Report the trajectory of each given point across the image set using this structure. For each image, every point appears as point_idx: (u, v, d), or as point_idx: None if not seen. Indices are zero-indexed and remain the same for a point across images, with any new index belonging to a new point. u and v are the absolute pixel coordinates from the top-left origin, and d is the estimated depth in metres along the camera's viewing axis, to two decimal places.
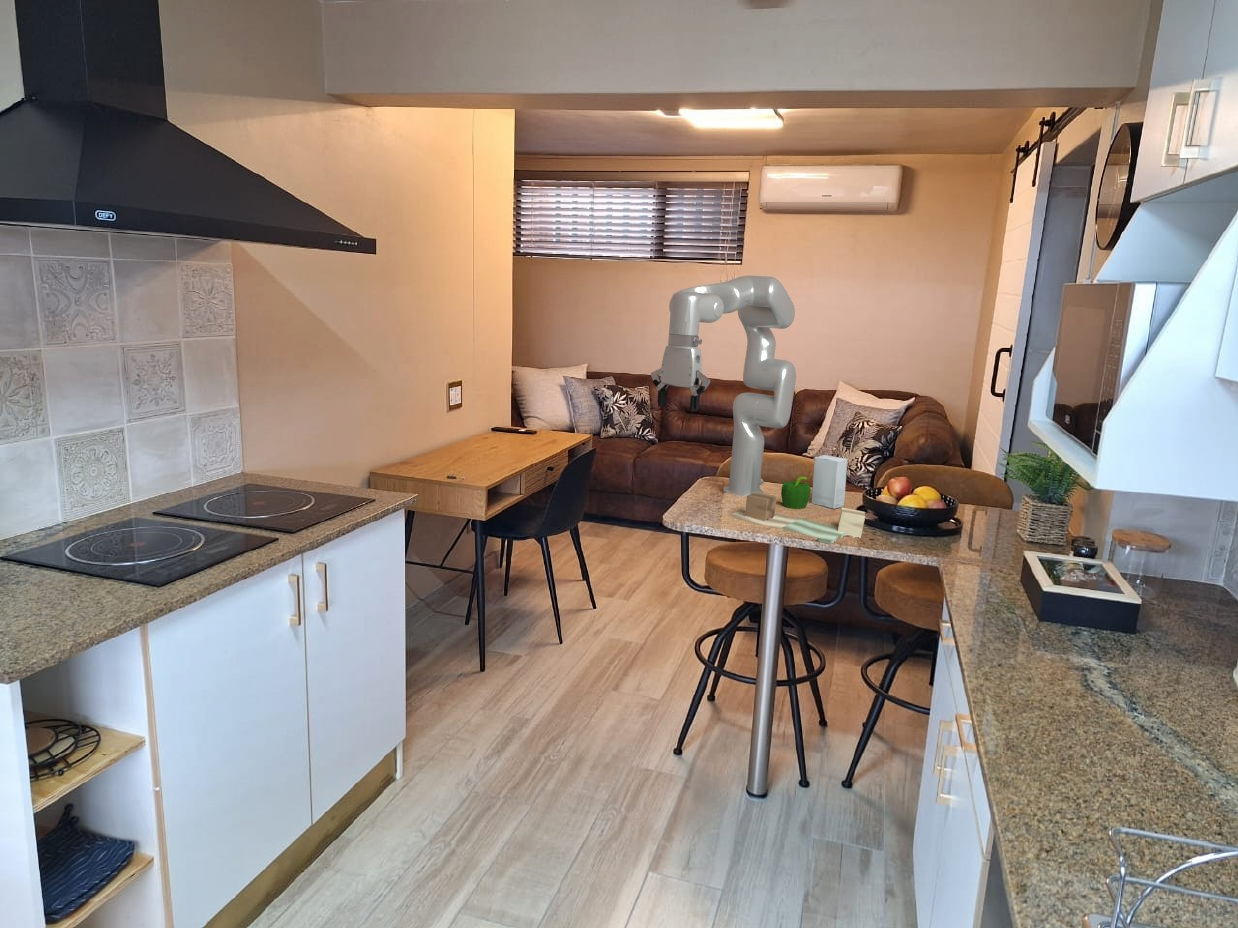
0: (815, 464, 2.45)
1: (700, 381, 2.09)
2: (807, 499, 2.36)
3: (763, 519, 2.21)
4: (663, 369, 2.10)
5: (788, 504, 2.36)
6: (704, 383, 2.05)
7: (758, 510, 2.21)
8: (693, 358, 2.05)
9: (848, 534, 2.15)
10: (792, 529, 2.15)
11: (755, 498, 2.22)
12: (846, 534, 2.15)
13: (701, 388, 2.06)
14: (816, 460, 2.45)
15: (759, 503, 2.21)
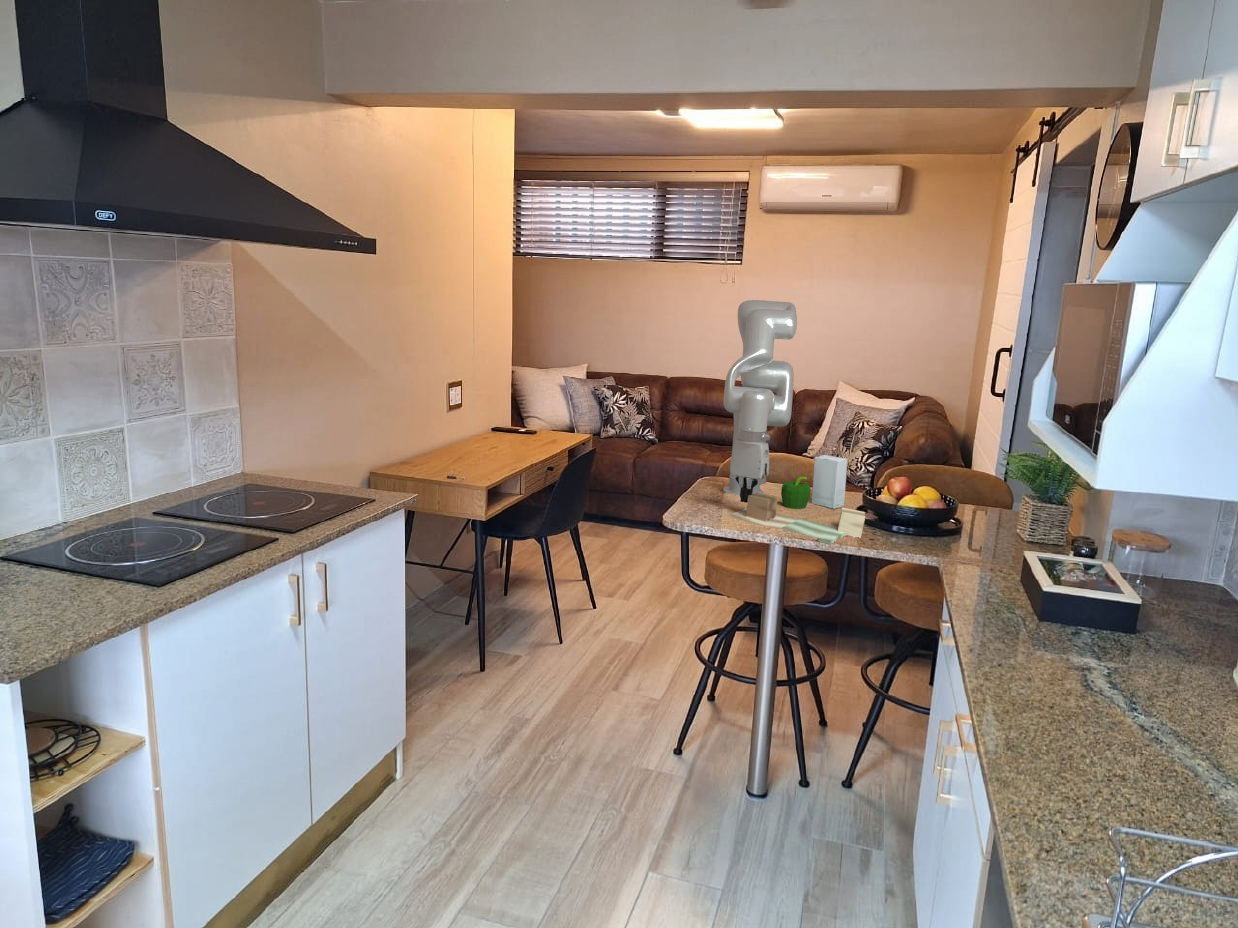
0: (815, 464, 2.45)
1: None
2: (807, 499, 2.36)
3: (764, 519, 2.21)
4: (733, 461, 2.25)
5: (788, 504, 2.36)
6: (759, 481, 2.23)
7: (759, 510, 2.21)
8: (762, 453, 2.20)
9: (848, 534, 2.15)
10: (792, 529, 2.15)
11: (756, 498, 2.21)
12: (846, 534, 2.15)
13: (754, 482, 2.23)
14: (816, 460, 2.45)
15: (760, 503, 2.21)
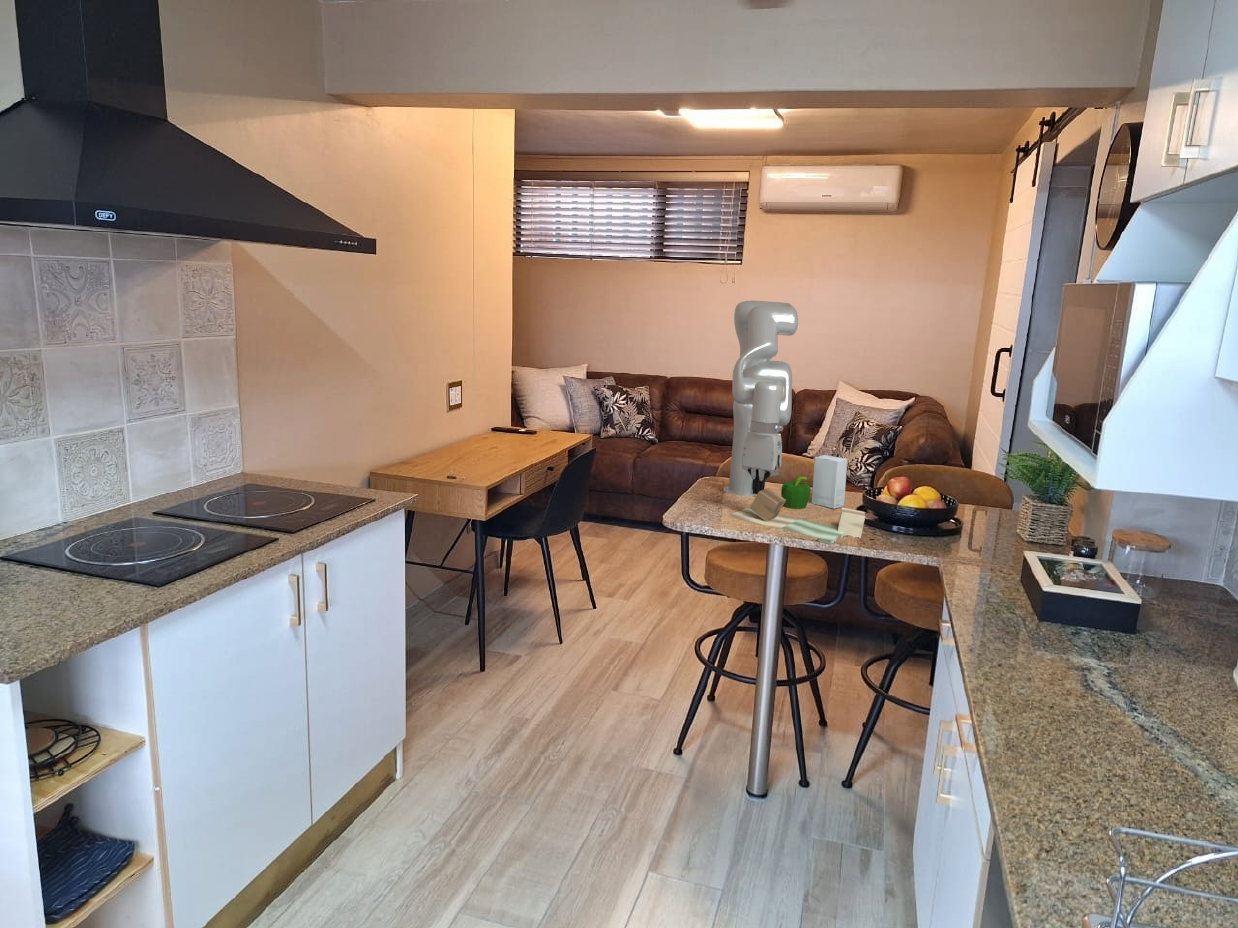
0: (815, 464, 2.45)
1: (780, 464, 2.21)
2: (807, 499, 2.36)
3: (765, 519, 2.21)
4: (745, 453, 2.22)
5: (788, 504, 2.36)
6: (772, 473, 2.20)
7: (764, 509, 2.20)
8: (775, 444, 2.17)
9: (848, 534, 2.15)
10: (792, 529, 2.15)
11: (766, 497, 2.20)
12: (846, 534, 2.15)
13: (767, 474, 2.21)
14: (816, 460, 2.45)
15: (768, 503, 2.19)
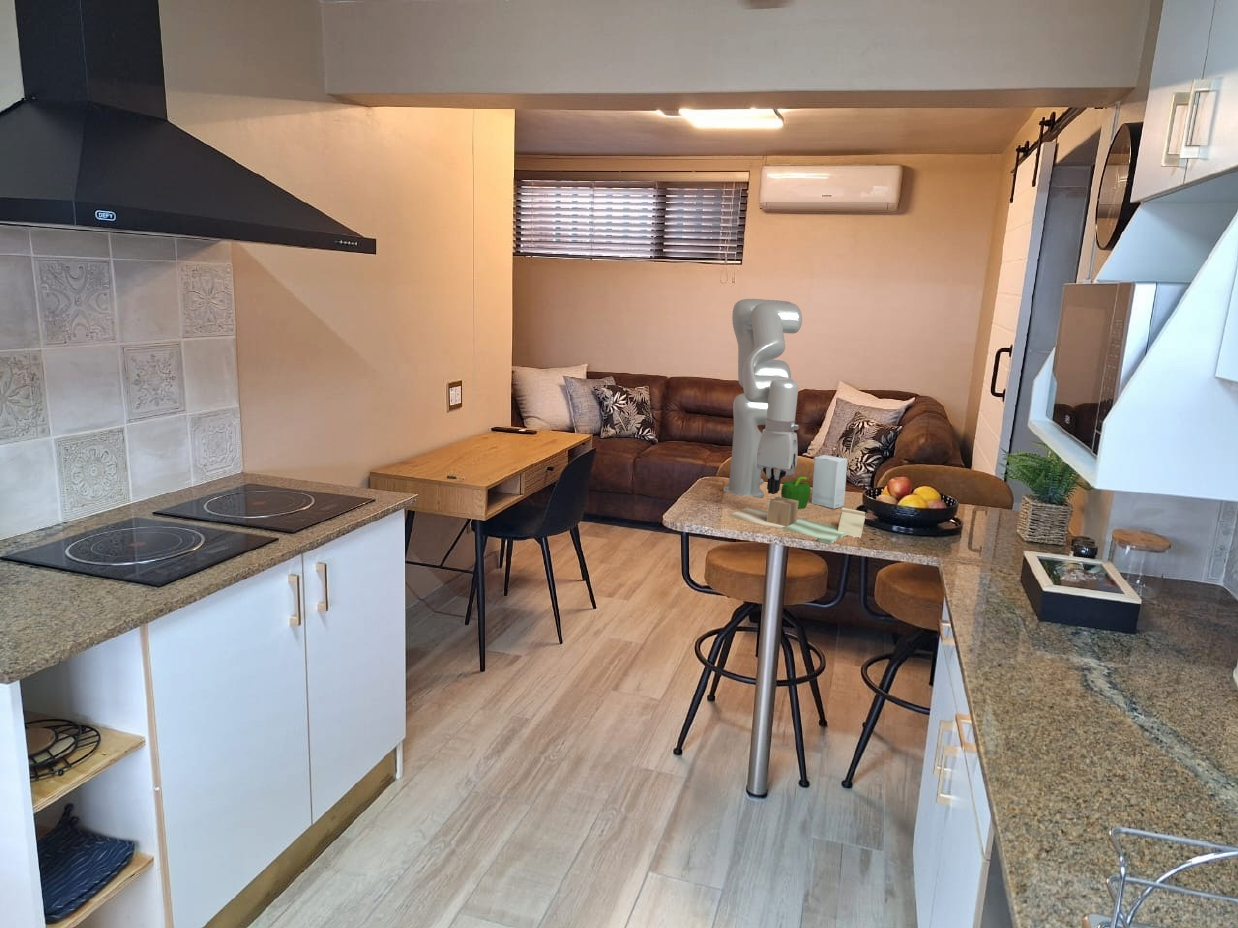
0: (815, 464, 2.45)
1: (796, 463, 2.18)
2: (807, 499, 2.36)
3: (768, 520, 2.20)
4: (760, 452, 2.20)
5: None
6: (788, 472, 2.17)
7: (776, 515, 2.19)
8: (791, 443, 2.15)
9: (848, 534, 2.15)
10: (792, 529, 2.15)
11: (787, 513, 2.17)
12: (846, 534, 2.15)
13: (782, 473, 2.18)
14: (816, 460, 2.45)
15: (783, 518, 2.17)
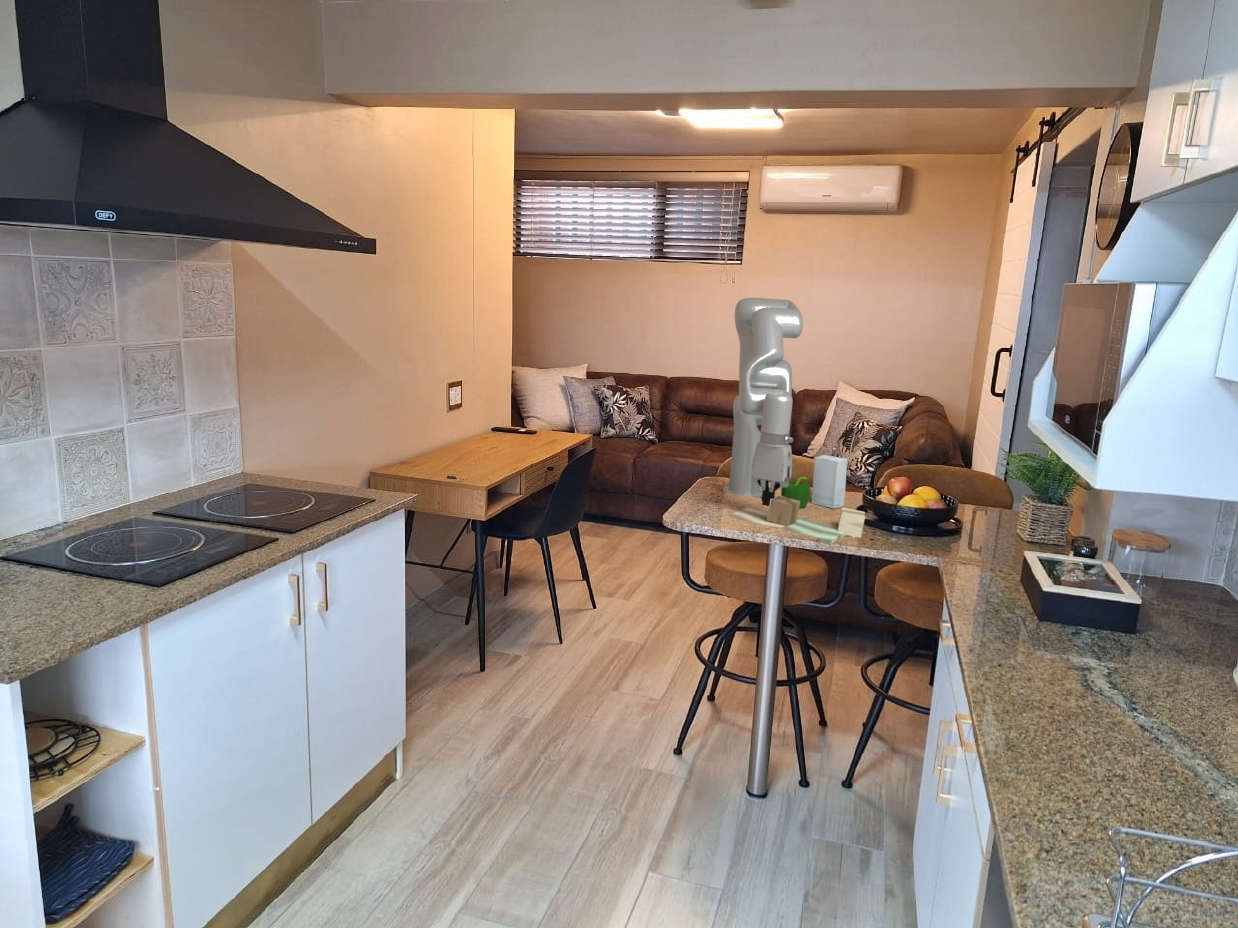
0: (815, 464, 2.45)
1: (790, 476, 2.20)
2: (807, 499, 2.36)
3: (768, 519, 2.20)
4: (755, 464, 2.21)
5: None
6: (782, 484, 2.19)
7: (776, 515, 2.19)
8: (785, 456, 2.16)
9: (848, 534, 2.15)
10: (792, 529, 2.15)
11: (788, 514, 2.16)
12: (846, 534, 2.15)
13: (777, 485, 2.20)
14: (816, 460, 2.45)
15: (783, 517, 2.17)
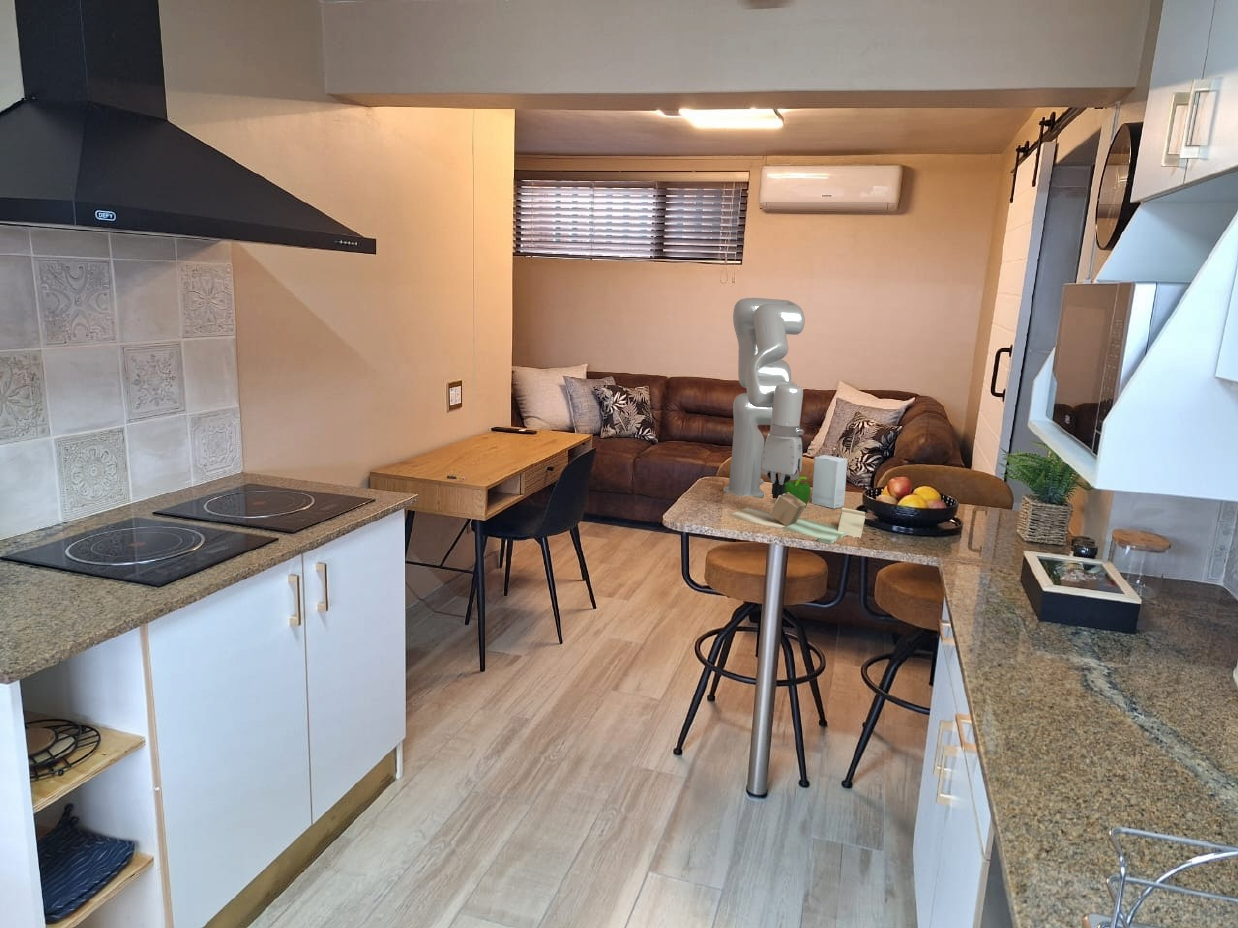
0: (815, 464, 2.45)
1: (800, 468, 2.18)
2: (807, 499, 2.36)
3: (770, 513, 2.19)
4: (764, 456, 2.19)
5: None
6: (792, 477, 2.17)
7: (780, 512, 2.18)
8: (795, 448, 2.14)
9: (848, 534, 2.15)
10: (792, 529, 2.15)
11: (791, 515, 2.16)
12: (846, 534, 2.15)
13: (787, 478, 2.18)
14: (816, 460, 2.45)
15: (786, 517, 2.17)
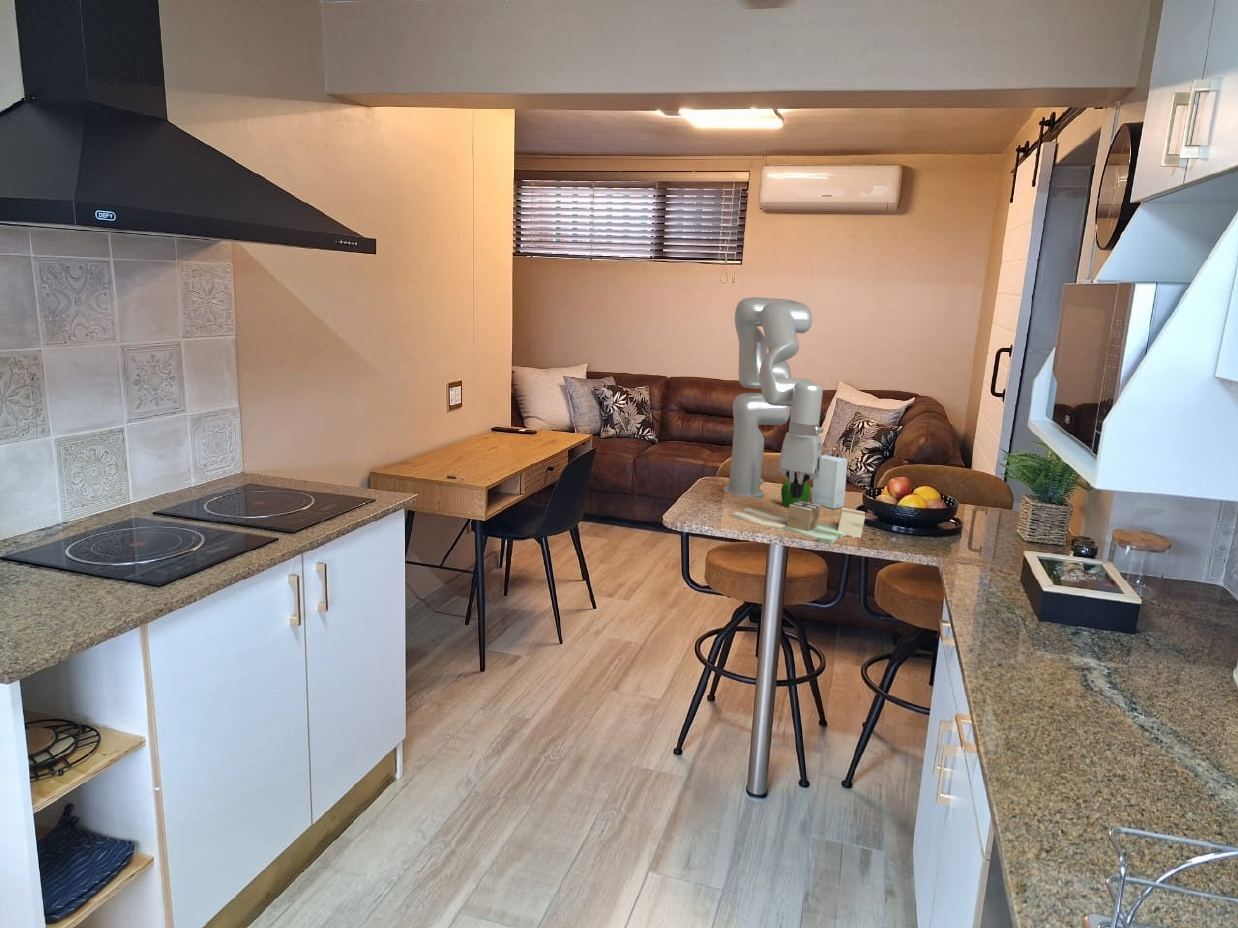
0: None
1: (820, 467, 2.15)
2: (807, 499, 2.36)
3: (790, 506, 2.16)
4: (783, 455, 2.16)
5: (788, 504, 2.36)
6: (812, 476, 2.14)
7: (795, 515, 2.15)
8: (815, 446, 2.11)
9: (848, 534, 2.15)
10: (792, 529, 2.15)
11: (799, 528, 2.15)
12: (846, 534, 2.15)
13: (806, 477, 2.14)
14: None
15: (794, 523, 2.16)
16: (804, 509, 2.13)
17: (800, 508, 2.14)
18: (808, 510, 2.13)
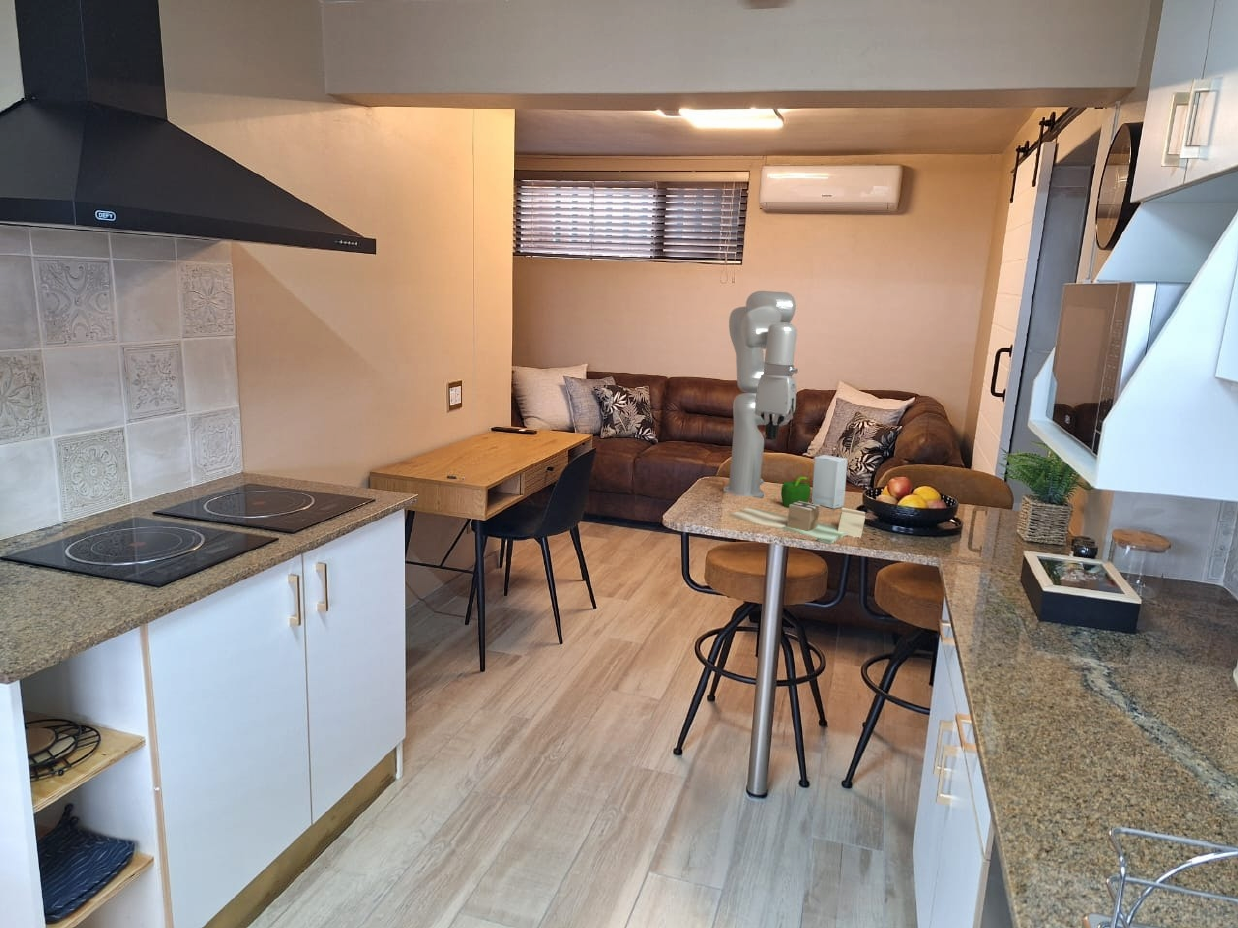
0: (815, 464, 2.45)
1: (794, 408, 2.17)
2: (807, 499, 2.36)
3: (790, 506, 2.16)
4: (758, 397, 2.18)
5: (788, 504, 2.36)
6: (786, 417, 2.16)
7: (795, 515, 2.15)
8: (789, 387, 2.13)
9: (848, 534, 2.15)
10: (792, 529, 2.15)
11: (799, 528, 2.15)
12: (846, 534, 2.15)
13: (781, 418, 2.16)
14: (816, 460, 2.45)
15: (794, 523, 2.16)
16: (804, 509, 2.13)
17: (800, 508, 2.14)
18: (808, 510, 2.13)
